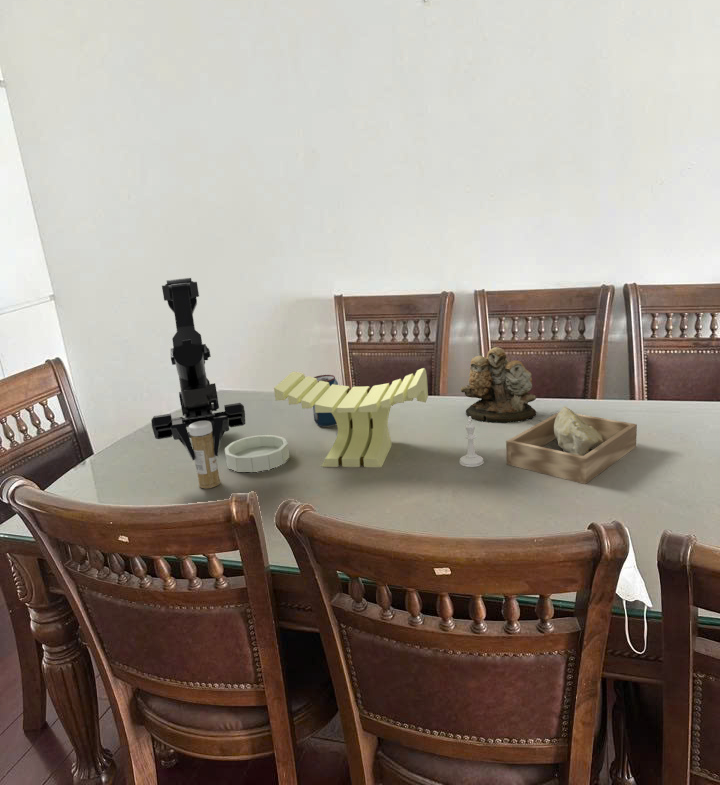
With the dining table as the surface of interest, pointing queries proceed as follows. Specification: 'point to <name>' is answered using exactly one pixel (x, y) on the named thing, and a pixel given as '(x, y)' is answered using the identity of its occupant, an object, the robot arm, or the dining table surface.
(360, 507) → the dining table surface
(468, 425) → the chess piece
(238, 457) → the bowl
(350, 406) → the slatted curved stool
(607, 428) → the light brown wooden tray
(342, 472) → the dining table surface
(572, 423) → the pale beige rock
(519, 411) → the owl figurine
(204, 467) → the sprinkles bottle
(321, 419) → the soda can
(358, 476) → the dining table surface
